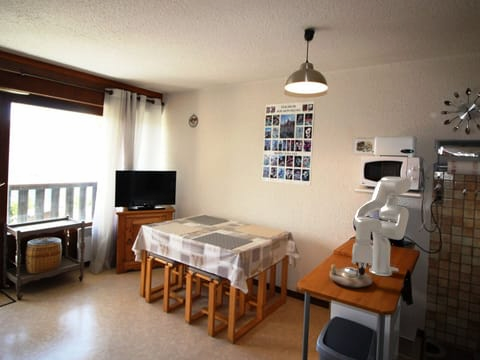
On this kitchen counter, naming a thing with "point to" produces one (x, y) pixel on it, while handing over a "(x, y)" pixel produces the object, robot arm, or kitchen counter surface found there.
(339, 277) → the disc
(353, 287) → the turntable base
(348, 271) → the cover
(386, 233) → the robot arm
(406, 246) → the kitchen counter surface
